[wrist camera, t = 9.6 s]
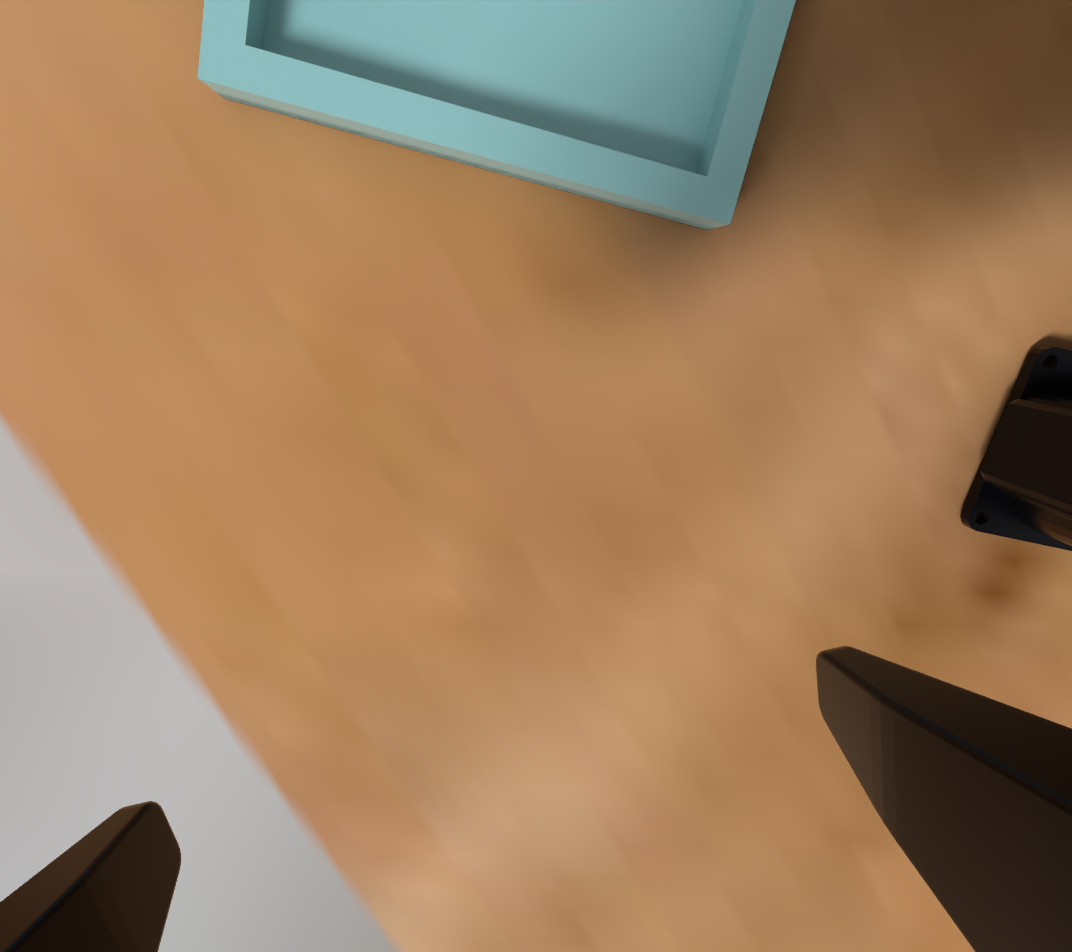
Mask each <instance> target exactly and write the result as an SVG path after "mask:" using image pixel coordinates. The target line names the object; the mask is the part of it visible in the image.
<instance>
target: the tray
mask: <svg viewBox="0 0 1072 952" xmlns="http://www.w3.org/2000/svg"><path fill="white" fill-rule="evenodd" d="M795 2H796V0H204V12H203V23H202V35H201V46H200V57H199V69H198V79H199V80H201V81H202V82H203V83H204V84H206V85H207V86H208V87H210V88H211V89H212V90H214V91H215V92H216V93H218V94H219V95H220V96H222V97H223V98H224V99H227V100H231V101H235V102H239V103H242V104H246V105H250V106H253V107H257V108H261V109H264V110H268V111H272V112H275V113H279V114H283V115H286V116H290V117H294V118H297V119H301V120H305V121H308V122H312V123H316V124H319V125H323V126H327V127H331V128H334V129H338V130H342V131H345V132H349V133H353V134H356V135H360V136H364V137H367V138H371V139H375V140H378V141H382V142H386V143H389V144H393V145H397V146H400V147H404V148H408V149H411V150H415V151H419V152H423V153H426V154H430V155H434V156H437V157H441V158H445V159H448V160H452V161H456V162H459V163H463V164H467V165H470V166H474V167H478V168H481V169H485V170H489V171H492V172H496V173H500V174H503V175H507V176H511V177H515V178H518V179H522V180H526V181H529V182H533V183H537V184H540V185H544V186H548V187H551V188H555V189H559V190H562V191H566V192H570V193H573V194H577V195H581V196H584V197H588V198H592V199H595V200H599V201H603V202H607V203H610V204H614V205H618V206H621V207H625V208H629V209H632V210H636V211H640V212H643V213H647V214H651V215H654V216H658V217H662V218H665V219H669V220H673V221H676V222H680V223H684V224H687V225H691V226H695V227H698V228H702V229H706V230H709V229H714V228H718V227H722V226H726V225H730V223H731V220H732V216H733V213H734V210H735V206H736V203H737V199H738V196H739V192H740V189H741V186H742V182H743V179H744V175H745V172H746V169H747V165H748V162H749V158H750V155H751V152H752V148H753V145H754V141H755V138H756V135H757V131H758V128H759V124H760V121H761V117H762V114H763V111H764V107H765V104H766V100H767V97H768V94H769V90H770V87H771V83H772V80H773V77H774V73H775V70H776V66H777V63H778V60H779V56H780V53H781V49H782V46H783V42H784V39H785V36H786V32H787V29H788V25H789V22H790V19H791V15H792V12H793V8H794V5H795Z"/></svg>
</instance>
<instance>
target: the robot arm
mask: <svg viewBox="0 0 1072 952" xmlns="http://www.w3.org/2000/svg"><path fill="white" fill-rule="evenodd" d="M1046 357H1047V363H1046V364H1045V366H1044V367H1043V361H1044V359H1045V358H1046ZM979 512H981V513H980V516H979V517H978V519H976V520H975V518H976V515H977V514H978V513H979ZM960 517H961V522H962V523H963V524H964V525H965V526H967V527H969V528H971V529H974V530H976V531H980V532H984V533H989V534H994V535H999V536H1003V537H1008V538H1013V539H1018V540H1023V541H1027V542H1032V543H1037V544H1042V545H1046V546H1051V547H1056V548H1061V549H1065V550H1070V551H1072V351H1069V350H1065V349H1061V348H1057V347H1049V346H1040V347H1037V348H1035V349H1034V350H1033V351H1031V352H1030V354H1029V355H1028V357H1027V359H1026V361H1025V364H1024V366H1023V368H1022V371H1021V373H1020V376H1019V378H1018V380H1017V383H1016V385H1015V387H1014V390H1013V392H1012V394H1011V397H1010V399H1009V401H1008V404H1007V406H1006V408H1005V411H1004V413H1003V415H1002V418H1001V420H1000V422H999V425H998V427H997V429H996V432H995V434H994V436H993V439H992V441H991V443H990V446H989V448H988V450H987V453H986V455H985V457H984V460H983V462H982V465H981V467H980V469H979V472H978V474H977V476H976V479H975V481H974V483H973V486H972V488H971V490H970V493H969V495H968V497H967V500H966V502H965V504H964V507H963V509H962V512H961V516H960ZM816 671H817V685H818V700H819V706H820V710H821V713H822V716H823V718H824V720H825V722H826V724H827V726H828V727H829V729H830V731H831V733H832V734H833V736H834V738H835V740H836V741H837V743H838V745H839V747H840V748H841V750H842V752H843V754H844V755H845V757H846V759H847V761H848V762H849V764H850V766H851V768H852V769H853V771H854V773H855V775H856V776H857V778H858V780H859V782H860V783H861V785H862V787H863V788H864V790H865V792H866V794H867V795H868V797H869V799H870V801H871V802H872V804H873V806H874V808H875V809H876V811H877V813H878V814H879V816H880V817H881V819H882V821H883V822H884V824H885V825H886V827H887V828H888V830H889V831H890V833H891V834H892V836H893V837H894V839H895V840H896V842H897V843H898V844H899V846H900V847H901V849H902V850H903V851H904V853H905V854H906V856H907V857H908V858H909V860H910V861H911V863H912V864H913V865H914V867H915V868H916V870H917V871H918V872H919V874H920V875H921V877H922V878H923V879H924V881H925V882H926V884H927V885H928V886H929V888H930V889H931V891H932V892H933V893H934V895H935V896H936V897H937V899H938V900H939V902H940V903H941V904H942V906H943V907H944V909H945V910H946V911H947V913H948V914H949V916H950V917H951V918H952V920H953V921H954V923H955V924H956V925H957V927H958V928H959V930H960V931H961V932H962V934H963V935H964V937H965V938H966V939H967V941H968V942H969V944H970V945H971V946H972V948H973V949H974V951H975V952H1072V729H1071V728H1068V727H1066V726H1063V725H1060V724H1058V723H1055V722H1052V721H1049V720H1047V719H1044V718H1041V717H1039V716H1036V715H1033V714H1031V713H1028V712H1025V711H1022V710H1020V709H1017V708H1014V707H1012V706H1009V705H1006V704H1004V703H1001V702H998V701H995V700H993V699H990V698H987V697H985V696H982V695H979V694H977V693H974V692H971V691H969V690H966V689H963V688H960V687H958V686H955V685H952V684H950V683H947V682H944V681H942V680H939V679H936V678H933V677H931V676H928V675H925V674H923V673H920V672H917V671H915V670H912V669H909V668H906V667H904V666H901V665H898V664H896V663H893V662H890V661H888V660H885V659H882V658H879V657H877V656H874V655H871V654H869V653H866V652H863V651H861V650H858V649H855V648H852V647H849V646H842V647H837V648H833V649H828V650H824V651H821V652H820V653H819V654H818V655H817V658H816ZM180 865H181V852H180V848H179V845H178V843H177V840H176V838H175V836H174V834H173V832H172V829H171V827H170V825H169V823H168V820H167V818H166V816H165V814H164V812H163V809H162V808H161V806H160V805H159V804H158V803H156V802H152V801H149V802H144V803H140V804H135V805H131V806H127V807H123V808H121V809H119V810H118V811H116V812H115V813H114V814H113V815H111V816H110V817H109V818H108V819H106V820H105V821H104V822H102V823H101V824H100V825H99V826H97V827H96V828H95V829H94V830H92V831H91V832H90V833H88V834H87V835H86V836H84V837H83V838H82V839H81V840H79V841H78V842H77V843H76V844H74V845H73V846H72V847H70V848H69V849H68V850H67V851H65V852H64V853H63V854H62V855H60V856H59V857H58V858H56V859H55V860H54V861H52V862H51V863H50V864H49V865H47V866H46V867H45V868H44V869H42V870H41V871H40V872H38V873H37V874H36V875H35V876H33V877H32V878H31V879H29V881H27V882H26V883H24V884H23V885H22V886H20V887H19V888H18V889H17V890H15V891H14V892H13V893H12V894H10V895H9V896H8V897H6V898H5V899H4V900H3V901H1V902H0V952H158V949H159V945H160V941H161V937H162V934H163V930H164V927H165V923H166V919H167V915H168V911H169V908H170V904H171V900H172V897H173V893H174V889H175V886H176V882H177V878H178V874H179V870H180Z"/></svg>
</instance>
